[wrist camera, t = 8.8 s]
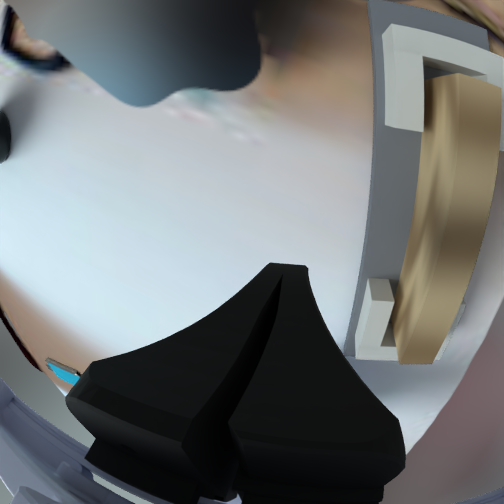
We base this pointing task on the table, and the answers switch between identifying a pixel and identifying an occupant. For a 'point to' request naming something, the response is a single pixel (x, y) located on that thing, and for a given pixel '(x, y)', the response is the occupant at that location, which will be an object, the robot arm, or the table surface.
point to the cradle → (405, 151)
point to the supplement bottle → (4, 137)
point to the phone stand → (63, 371)
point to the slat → (446, 211)
